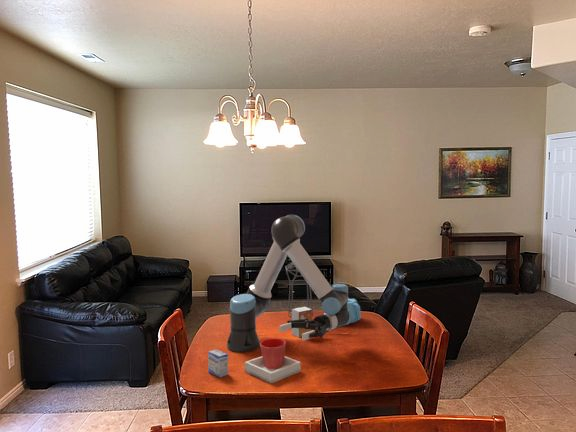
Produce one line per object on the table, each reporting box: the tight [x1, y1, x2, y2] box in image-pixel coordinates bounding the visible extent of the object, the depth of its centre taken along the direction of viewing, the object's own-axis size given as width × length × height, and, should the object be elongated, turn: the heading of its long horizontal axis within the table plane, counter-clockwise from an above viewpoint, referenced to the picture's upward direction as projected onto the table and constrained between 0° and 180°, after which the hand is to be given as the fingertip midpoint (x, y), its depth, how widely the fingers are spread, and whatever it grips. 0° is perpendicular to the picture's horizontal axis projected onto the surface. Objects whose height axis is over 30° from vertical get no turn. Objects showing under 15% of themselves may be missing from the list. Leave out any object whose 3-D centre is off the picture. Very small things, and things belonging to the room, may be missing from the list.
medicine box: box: [207, 349, 229, 378], centre depth 197 cm, size 8×4×9 cm, turn 44°
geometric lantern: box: [285, 261, 314, 319], centre depth 263 cm, size 16×16×35 cm
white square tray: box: [244, 355, 302, 384], centre depth 199 cm, size 16×16×4 cm
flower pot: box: [259, 338, 287, 369], centre depth 202 cm, size 11×11×10 cm
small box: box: [291, 306, 313, 338], centre depth 243 cm, size 8×6×13 cm
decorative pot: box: [346, 296, 362, 326], centre depth 264 cm, size 16×16×14 cm
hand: (290, 333), depth 204 cm, fingers open, 13 cm apart
